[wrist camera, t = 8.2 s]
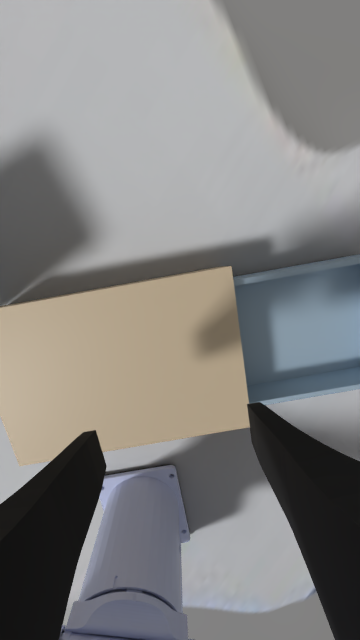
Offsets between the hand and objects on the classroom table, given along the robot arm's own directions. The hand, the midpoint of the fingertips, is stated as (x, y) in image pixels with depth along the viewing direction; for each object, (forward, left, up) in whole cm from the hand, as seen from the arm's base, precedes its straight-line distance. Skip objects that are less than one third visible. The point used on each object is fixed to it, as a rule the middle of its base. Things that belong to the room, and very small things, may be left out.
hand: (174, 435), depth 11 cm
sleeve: (+1, +4, -10) cm, 11 cm away
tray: (+1, -8, -10) cm, 13 cm away
